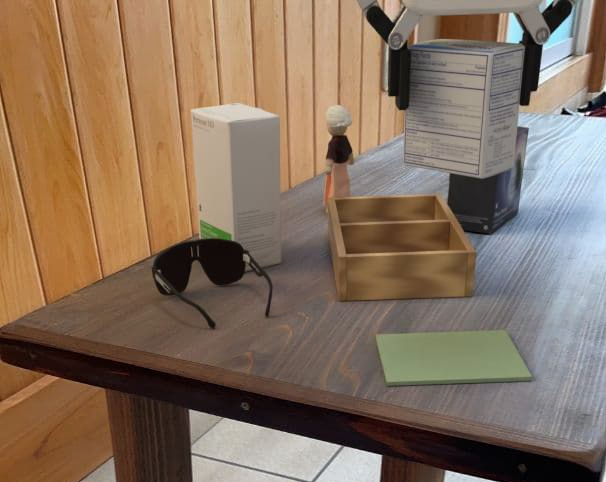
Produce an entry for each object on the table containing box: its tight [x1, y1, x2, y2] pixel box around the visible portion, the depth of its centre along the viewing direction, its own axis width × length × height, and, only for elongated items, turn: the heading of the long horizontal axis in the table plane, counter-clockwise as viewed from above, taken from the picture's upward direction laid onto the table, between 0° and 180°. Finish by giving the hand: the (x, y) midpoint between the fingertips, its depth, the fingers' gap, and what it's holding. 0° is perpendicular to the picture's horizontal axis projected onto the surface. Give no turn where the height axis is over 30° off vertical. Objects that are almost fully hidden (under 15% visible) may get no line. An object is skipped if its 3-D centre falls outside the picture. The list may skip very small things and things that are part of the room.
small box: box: [446, 125, 530, 235], centre depth 104 cm, size 11×6×10 cm, turn 150°
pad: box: [375, 329, 533, 387], centre depth 74 cm, size 12×10×1 cm
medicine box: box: [402, 38, 525, 179], centre depth 65 cm, size 8×4×9 cm, turn 45°
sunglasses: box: [151, 238, 273, 329], centre depth 85 cm, size 10×12×5 cm
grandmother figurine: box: [322, 104, 356, 215], centre depth 109 cm, size 8×4×13 cm, turn 164°
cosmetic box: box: [190, 102, 282, 273], centre depth 93 cm, size 8×7×16 cm
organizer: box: [327, 193, 478, 302], centre depth 94 cm, size 14×22×4 cm, turn 1°
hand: (460, 104), depth 65 cm, fingers closed on medicine box, 8 cm apart
